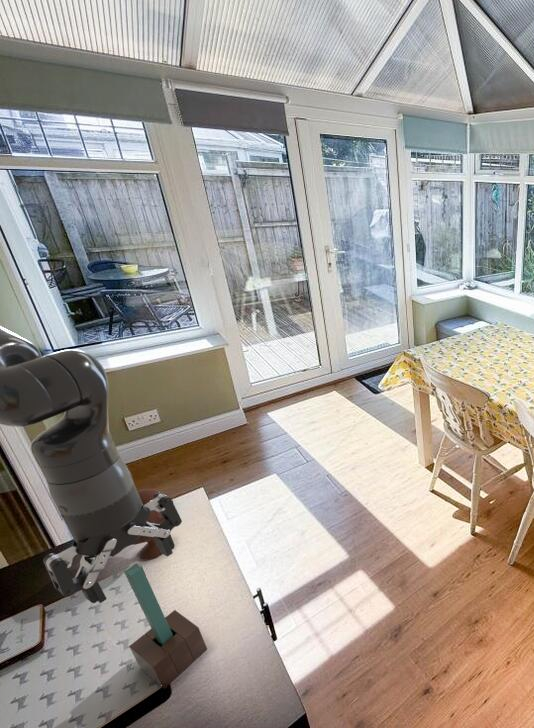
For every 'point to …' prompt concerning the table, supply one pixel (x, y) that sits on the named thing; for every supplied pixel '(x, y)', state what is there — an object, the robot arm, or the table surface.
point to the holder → (169, 650)
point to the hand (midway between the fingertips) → (135, 574)
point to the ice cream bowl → (155, 517)
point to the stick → (149, 603)
